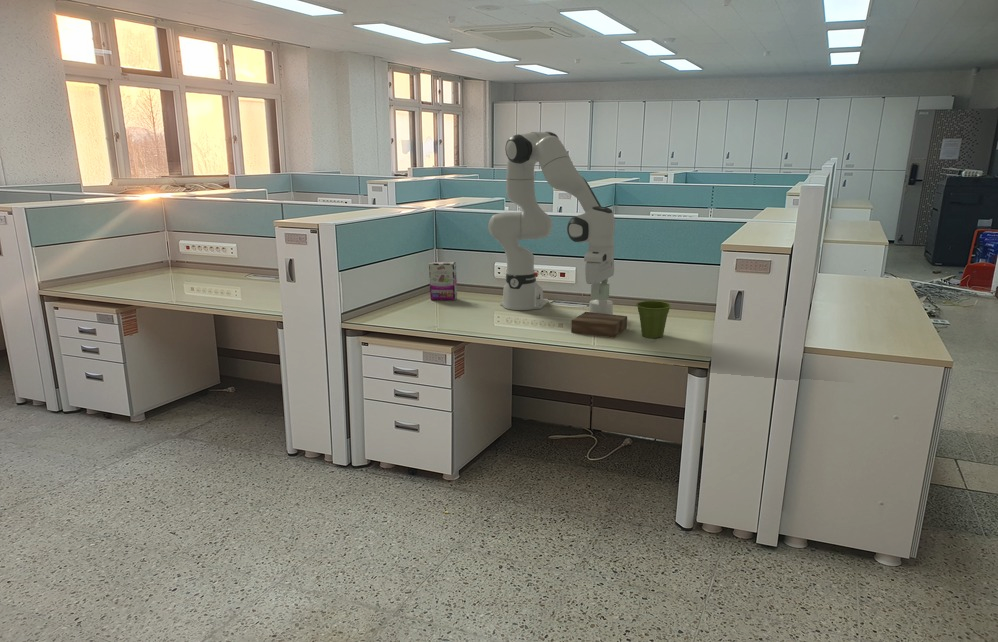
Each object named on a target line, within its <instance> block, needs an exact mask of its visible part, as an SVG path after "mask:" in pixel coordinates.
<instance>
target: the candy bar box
mask: <svg viewBox="0 0 998 642" xmlns="http://www.w3.org/2000/svg"><path fill="white" fill-rule="evenodd" d="M428 271H429V292H430V300H431V301H456V300H458V288H457V287H458V286H457V285H458V284H457V283H458V278H457V262H456V261H431V262H429V263H428Z"/></svg>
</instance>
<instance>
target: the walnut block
mask: <svg viewBox="0 0 998 642" xmlns="http://www.w3.org/2000/svg"><path fill="white" fill-rule="evenodd" d="M570 323H571V324H570V327H571V329H570V333H572V334H578V335H579V334H580V335H586V336H588V335H589V336H597V337H604V338H612V339H615V338H617V336H619V335H620V334H621V333H624V331H626V329H628V316H627V315H619V314H613V315H611V314H602V313H593V312H589V311H585V312H583V313H581V314H579V315H578V316H575V317H574V318H572V319H571V322H570Z"/></svg>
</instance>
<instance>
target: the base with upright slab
mask: <svg viewBox="0 0 998 642" xmlns="http://www.w3.org/2000/svg"><path fill="white" fill-rule="evenodd" d="M588 304H589V305H588V306H589V307H588V309H589V311H588V312H593V313H602V314H611V315H614V314H613V313H614V312H613V311H614V310H613V309H614V301H612V300H609V299H606V300H594V299H591V300H590V301H589V303H588Z"/></svg>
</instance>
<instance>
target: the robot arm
mask: <svg viewBox="0 0 998 642" xmlns="http://www.w3.org/2000/svg"><path fill="white" fill-rule="evenodd" d="M505 143H506V144H505V155H506V158H507V163H506V172H505V173H506V177H505V179H506V180H505V181H506V184H505V187H506V189H505V190H506V197H507V200H508V201H509V202H510V203H513V204H515V205H516V206H518V207H521V209H522V210H521V211H519V212H514V211H513V212H511V211H510V212H500V213H495V214H493V215H492V216H491V217H490V219H489V221H488V225H487V226H488V227H487V228H488V232H489V234H490V235H491V237H492V238H493V239H495V240H496V241H497V242H498V243H499V244H500V245H501V247H502V248H503V250H504V254H505V258H506V259H505V260H506V273H505V282H506V283H505V284H504V285H503V291H502V292H503V293H502V301H500V302H499V304H500V306H502V307H503V308H505V309H507V310H514V311H528V310H530V311H531V310H541V309H543V308H544V307H545V306H546V305H547V304H548V303H549V299H548V298H544V291H543V289H544V288H542V286H540V285H539V284H538V282H537V278H538V276H539V273H538V272H537V271H536V272H535V267H534V266H535V256H534V253H533V252H532V251H531V250H530V249H528V248H526V247H523V246H522V245H521V244H520V243H519V241H520V240H540V239H544V238H548V237H549V235H550V234H551V232H552V231H553V221H552V219H551V217H550V215H549V214H548V213H547V212H545V211H544V210H543V209H542V208H541V206H540V205H539V203H538V202H537V201H538V200H537V198H536V191H535V190H536V189H535V166H536V164H537V163H539V166H540V169H541V171H542V175H543V177H544V179H545V180H546V182H547V183H548V185H549V186H550V187H552V188H553V189H556V190H558V191H561V192H565V193H567V194H570V195H572V196H574V197H575V198H576V199H577V200H578V201H577V202H579V204H580V206H581V208H582V210H583V211H584V213H582V214H578V215H576V216H573V217H571V218H570V219H569V220H568V222H567V227H566V231H567V232H566V233H567V235H568V238H569V239H570V240H571V241H572V242H573V243H574V242H575V243H588V249H587V251H586V253H585V254H584V256H583V257H584V260H583V261H584V262H585V268H584V270H585V271H584V272H585V273H584V274H585V282H586V284H588V285H593V288H594V294H595V295H598V294H600V289H599V285H600V283H604V284H608V281H609V280H608V279H610V278H612V277H614V273H615V260H614V259H615V242H614V235H615V229H616V228H615V226H616V225H615V223H616V222H615V221H616V220H615V214H614V211H613V210H612V209H611V208H609V207H606V206H601V204H600V202H599V200H598V199H597V196H596V195H595V193H594V192H593V189H592V188H591V186H590V185H589V183H588V182H587V181H588V180H586V179H585V178H584V176H583V175H581V174H580V173H579V171H578V170H577V168H576V167H575V165H574V163H573V162H572V159H571V157H570V154H569V153H568V151H567V149H566V148H565V146H564V144H563V142H562V141H561V140H560V138H559V137H558V134H556V133H555V132H551V131H532V132H528V133H521V134H520V133H519V134H515V135H512V136H510V137H509V138H508V139H507V141H506V142H505Z"/></svg>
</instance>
